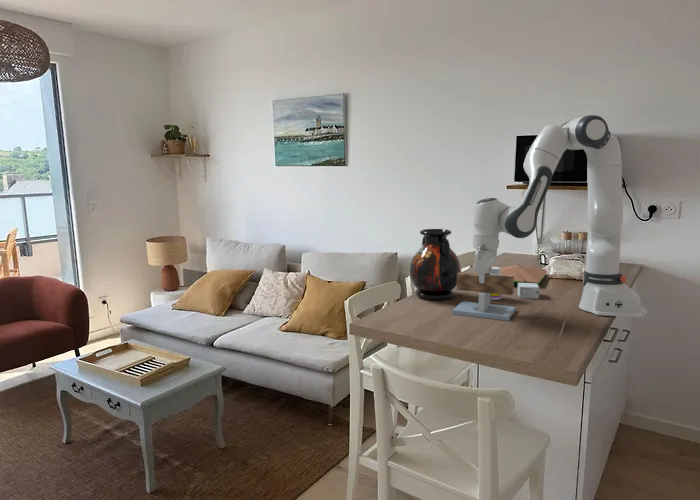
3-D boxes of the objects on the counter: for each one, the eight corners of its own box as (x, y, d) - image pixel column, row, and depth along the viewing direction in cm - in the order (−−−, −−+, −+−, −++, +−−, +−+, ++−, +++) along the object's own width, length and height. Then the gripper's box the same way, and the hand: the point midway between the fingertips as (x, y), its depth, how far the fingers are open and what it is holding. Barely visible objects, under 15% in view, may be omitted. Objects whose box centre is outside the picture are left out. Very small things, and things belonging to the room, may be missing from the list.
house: (484, 286, 225) (485, 268, 223) (500, 272, 253) (501, 257, 252) (537, 291, 214) (538, 273, 212) (548, 276, 242) (548, 260, 241)
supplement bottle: (502, 300, 198) (503, 269, 196) (485, 300, 199) (486, 269, 197) (501, 296, 204) (501, 266, 202) (484, 296, 205) (485, 266, 203)
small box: (519, 298, 201) (519, 286, 200) (517, 294, 209) (517, 282, 208) (539, 299, 199) (539, 287, 198) (536, 294, 207) (537, 282, 206)
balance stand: (515, 310, 183) (515, 289, 182) (508, 320, 171) (509, 298, 170) (462, 304, 193) (462, 285, 191) (452, 314, 180) (452, 293, 179)
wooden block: (513, 292, 178) (514, 276, 177) (511, 295, 174) (512, 278, 174) (459, 287, 187) (459, 272, 186) (456, 289, 184) (456, 274, 183)
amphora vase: (400, 293, 213) (400, 229, 208) (442, 288, 221) (443, 226, 216) (425, 305, 193) (426, 234, 189) (471, 299, 201) (473, 231, 196)
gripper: (488, 247, 167) (487, 287, 169) (500, 239, 185) (499, 275, 187) (470, 246, 170) (469, 285, 172) (483, 239, 188) (482, 274, 190)
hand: (484, 280), depth 180 cm, fingers open, 8 cm apart
